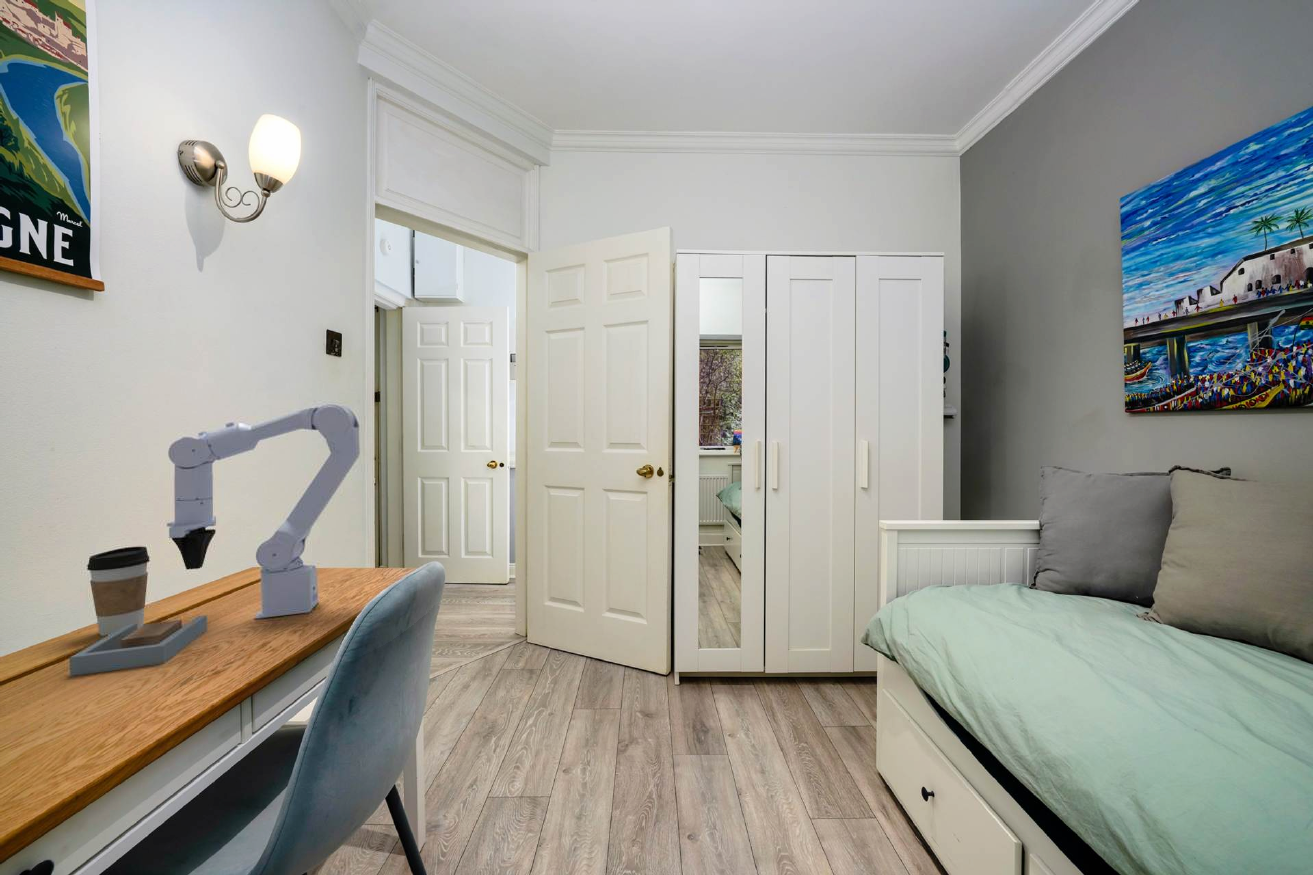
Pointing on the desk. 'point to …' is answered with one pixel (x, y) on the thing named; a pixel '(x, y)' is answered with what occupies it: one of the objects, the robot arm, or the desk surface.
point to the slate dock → (133, 650)
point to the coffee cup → (119, 587)
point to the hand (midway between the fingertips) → (194, 568)
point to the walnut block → (151, 634)
